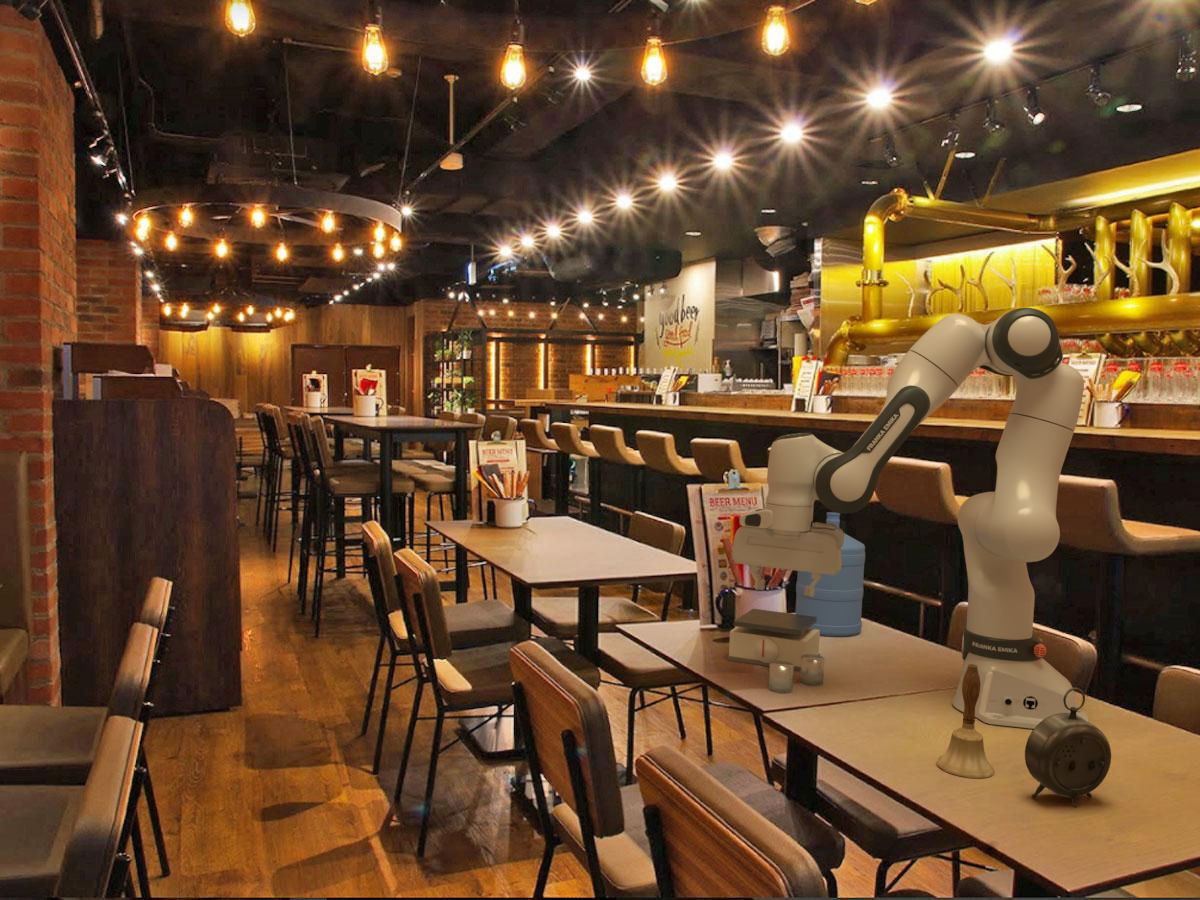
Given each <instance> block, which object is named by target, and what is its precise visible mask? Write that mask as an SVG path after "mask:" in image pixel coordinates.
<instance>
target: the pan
mask: <svg viewBox="0 0 1200 900" xmlns="http://www.w3.org/2000/svg"><path fill="white" fill-rule="evenodd" d="M815 622H817V617H813V616H806V615H798V614H795V613H790V612H789V613H788V612H781V611H775V610H774V611H773V610H766V609H758V608H752V609H750V610H749V611H747V612H746V613H744V614H742V615H741V616H740V617H738V618H736V619H735V620H733V626H734V627H737V626H738V627H745V628H752V629H759V630H766V631H774V632H781V633H788V634H795V635H801V634H803V633H804V632H805V631H806V630H807V629H808V628H810V627H811V626H812V625H813V624H814V623H815Z"/></svg>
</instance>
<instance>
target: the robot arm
mask: <svg viewBox="0 0 1200 900" xmlns="http://www.w3.org/2000/svg"><path fill="white" fill-rule="evenodd" d="M1060 342H1061V340H1060V335H1059V331H1058V327H1057V325H1056V323H1055V322H1054V320H1053V319H1052V317H1051V316H1050V315H1048V314H1047V313H1046V312H1044V311H1042V310H1040V309H1037V308H1033V307H1018V308H1015V309H1012V310H1010V311H1008V312H1007V313H1004V314H1002V315H1001V316H999V317H998V318H997V319H995V320H994V321H992V322H991V323H988V324H987V323H986V324H982V323H979V322H978V321H977V320H974V318H972V317H969V316H968V315H964V314H961V313H951V314H947V315H945V316H943V317H942V318H941V319H940V320H938V321H937V322H936V323H935V324H934V325H932V326H931V327H930V328H929V329H928V330H927V331H926V332H925V333H924V334H922V335H921V336H920V337H919V338H918V340H917V341H915V343H914V344H913V345H912V346H911V347H910V348H909V350H908V351H907V352H906V353H905V354H904V356H903V357H902V359H900V361H899V362H898V364H897V365H896V367H895V368H894V370H893V372H892V374H891V375H890V377H889V379H888V380H887V387H886V397H885V401H884V404H883V407H881V411H880V412H879V414H878V415H877V416H876V417H875V419H874V420H873V421H872V422H871V424H869V426H868V427H867V429H866V430H865V431H864V432H863V434H861V436H860V437H859V438H858V440H857V441H856V442H855V443H854V444H853V446H852V447H851V448H849V449H848V450H846V451H845V452H842V451H840V450H838V449H835V448H834V447H832V446H830V445H828V444H826V443H824V442H823V441H822V440H820V439H818V438H817V437H816V436H815V435H814V434H813V433H811V432H796V433H789V434H784V435H781V436H779V437H777V438H775V440H774V441H773V442H772V444H771V446H770V451H769V456H768V462H767V463H768V464H767V473H766V480H767V485H768V487H767V488H768V491H767V496H766V497H765V506H764V509H762V508H759V509H756V510H753V511H749V512H745V513H742V514H741V515H740V517H739V525H740V527H739V528H738V529H737V530H736V532H735V534H734V538H733V543H732V549H731V550H732V552H731V553H732V554H731V558H732V560H733V561H734V563H735V564H740V565H747V566H748V565H749V572H750V573H751V574H750V575H752V578H753V580H754V590H759V591H763V590H765V588H766V587H765V584H766V580H765V579H762V578H761V575H760V573H759V571H760V570H761V567H763V568H771V569H779V570H787V571H788V570H789V571H794V572H795V571H796V572H798V571H803V572H811V573H812V575H811V578H812V579H814V580H813V582H812V583H811V585H810V586H808V585H807V586H805V592H804V596H809V597H813V596H814V588H815V586H816V585H817V583H818V582H819V580H820V579H821V574H827V575H835V574H837V573H838V572H839V571H840V570H841V567H842V557H841V547H842V546H843V543H844V533H845V532H844V530H843V529H842V528H840V526H839V527H837V525H835V524H826V523H824V522H818V521H813V520H814V504H815V502H816V501H819V502H820V503H821V504H822V505H823V506H824V508H826V509H828V510H829V511H830V512H836V513H840V515H841V514H844V515H845V514H846V515H847V514H854V513H856V512H859V511H860V510H862V509H864V508H865V507H866V506H867V505H868V504H869V502H871V499H873V496H874V494H875V491H876V487H877V483H878V479H879V477H880V474H881V472H882V470H883V469H884V467H886V465H887V463H888V462H889V461H890V460H891V459H892V457H893V456H894V455H895V453H896V452H897V451H898V450H899V449H900V447H901V446H902V445H903V444H904V443H905V441H906V440H907V439H908V437H909V436H910V435H911V434H912V432H913V431H914V430H915V429H916V428H917V427H918V426H919V425H921V424H922V423H923V422H924V421H925V420H926V419H927V418H928V417H930V416H931V415H933V414H934V413H935V412H936V411H937V410H938V409H939V408H941V406H943V405H944V404H945V403H946V402H947V400H949V399H950V397H952V396H953V395H954V393H955V392H956V391H957V390H958V389H959V387H960V386H961V385H962V383H964V381H965V380H966V379H967V378H968V377H969V376H970V375H971V374H972V373H973V372H974V371H975V370H977V369H978V368H980V369H982V370H985V371H988V372H990V373H992V374H995V375H998V376H1002V377H1013V378H1014V381H1015V386H1016V387H1015V388H1016V391H1015V397H1014V400H1013V404H1012V406H1011V409H1010V411H1009V415H1008V418H1007V420H1006V421H1005V422H1006V423H1005V424H1004V425H1005V426H1004V428H1003V431H1002V433H1001V434H1002V435H1001V437H1000V440H999V443H998V446H997V449H996V451H995V452H996V453H995V462H996V466H997V467H996V468H997V470H996V480H995V481H996V482H995V490H994V491H987V492H986V491H985V492H981V493H977V494H974V495H971V496H970V497H968V498H966V499H965V500H964V501H963V503H962V504H961V505H960V507H959V509H958V512H957V525H958V529H959V530H960V533H961V536H962V541H963V542H962V544H963V552H964V559H965V564H966V565H965V566H966V572H967V573H966V574H967V582H968V583H967V585H968V590H967V591H968V594H967V596H968V597H967V609H966V610H967V613H966V615H967V616H966V627H965V628H964V630H963V634H962V643H961V655H962V660H963V661H962V666H961V667H962V668H961V673H960V677H959V681H958V684H957V688H956V691H955V694H954V697H953V700H952V702H951V704H952V706H953V707H954V708H955V709H957V710H958V711H960V712H962V713H964V699H963V694H962V682H963V678H964V675H965V673H966V671H967V668H968V665H969V664H974V665H977V669H978V673H979V677H980V683H981V685H980V694H979V698H978V700H977V703H976V706H975V718H977V719H979V720H980V721H981V722H983V723H986V724H989V725H997V726H1004V727H1005V726H1006V727H1015V728H1024V729H1030V730H1033V729H1034V728H1035V727H1036V726H1037V725H1038V724H1039V723H1040V722H1041V721H1042V720H1044V719H1045V718H1047V717H1049V716H1051V715H1054V714H1058V713H1070V712H1071V711H1070V710H1068V709H1067V708H1066V707H1065V705H1064V701H1063V699H1064V695H1065V693H1066V692H1067V691H1068V690H1069V689H1071V688H1073V686H1072V683H1071V682H1070V681H1069V679H1067V677H1065V676H1064V675H1062V674H1061V672H1059V671H1058V670H1056V668H1054V667H1053V666H1052V665H1051V664H1050V663H1049V662H1047V661H1046V660H1045V659H1044V657H1045V656H1046V653H1047V647H1046V646H1045V643H1044V642H1043V639H1042V638H1038V637H1037V636H1035V635H1033V629H1034V625H1033V624H1034V611H1035V600H1036V599H1035V597H1036V596H1035V595H1036V593H1035V590H1034V587H1033V585H1032V583H1031V580H1030V577H1029V572H1028V567H1027V566H1028V565H1027V563H1033V562H1039V561H1042V560H1045V559H1046V558H1048V557H1050V556H1051V555H1052V554H1053V552H1054V551H1055V550H1056V548H1057V546H1058V545H1059V541H1060V538H1061V537H1060V536H1061V533H1060V532H1061V531H1060V530H1061V529H1060V525H1059V522H1058V520H1057V500H1058V490H1059V482H1060V476H1061V472H1062V469H1063V465H1064V462H1065V460H1066V457H1067V453H1068V450H1069V447H1070V444H1071V442H1072V440H1073V439H1072V438H1073V435H1074V432H1075V430H1076V427H1077V424H1078V421H1079V420H1078V419H1079V416H1080V411H1081V407H1082V402H1083V397H1084V388H1085V381H1084V377H1083V376H1082V374H1081V373H1080V372H1079V370H1077V369H1076V368H1075V367H1074V366H1072V365H1070V364H1067V363H1065V362H1062V361H1063V358H1064V354H1063V351H1062V347H1061V343H1060ZM836 529H838V530H839V531H838V530H836ZM1066 705H1067V707H1068V708H1071V707H1076V708H1078V707H1079V706H1077V701H1076V695H1075V690H1073V691H1071V692H1069V694H1068V695H1067V697H1066ZM1076 715H1078V716H1080V717H1081V718H1083V719H1084V720H1086V721H1087V722H1089V723H1090V721H1089V720H1090V719H1089V715H1088V714H1087V712H1086V711H1085V710H1083V709H1082V708H1080V709H1079V710H1078V711H1077V712H1076Z"/></svg>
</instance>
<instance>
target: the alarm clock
mask: <svg viewBox="0 0 1200 900" xmlns="http://www.w3.org/2000/svg"><path fill="white" fill-rule="evenodd" d="M1073 690H1074V691H1078V692H1079V693H1080V694H1081V696H1082V702H1081V704H1080V706H1076V707H1078V708H1076V707H1071V708H1068V707H1067V705H1066V697H1067V695H1068V694H1069V692H1071V691H1073ZM1063 701H1064V705H1065V707H1066V708H1067V709H1068V710H1070V711H1071V712H1070V713H1058V714H1054V715H1051V716H1049V717H1047V718H1045V719H1044V720H1042V721H1041V722H1040V723H1039V724H1038V725H1037V726H1036V727H1035V728H1034V729H1032V731H1031V733H1030V734H1029V736H1028V738H1027V740H1026V742H1025V743H1026V744H1025V746H1024V747H1025V749H1024V761H1025V762H1024V763H1025V766H1026V768H1027V771H1028V772H1029V774H1030V775H1031V777H1032V778H1033V779H1034V780H1035V781H1037V782H1038V783H1039V785H1038V786H1037V787H1036V790H1035V791H1034V793H1033V794H1031V798H1032V799H1034V800H1035V799H1036V798H1037V797H1038V795H1039V794H1041V792H1042V791H1044V789H1045V788H1046V789H1048V790H1049V791H1050V792H1052V793H1053V794H1055V795H1058V796H1060V797H1063V798H1064V797H1065V798H1071V803H1072V806H1073V807H1074V808H1078V800H1077V798H1078V797H1082V796H1086V797H1087V798H1089V799H1090V798H1091V797H1092V794H1091V792H1093V791H1095V789H1097V788H1098V787H1099V786H1100V785H1101V784H1102V782H1104V780H1105V778H1106V777H1107V775H1108V773H1109V770H1110V768H1111V763H1112V750H1111V746H1110V745H1111V744H1110V743H1109V740H1108V738H1107V736H1106V735H1105V733H1104V732H1103V731H1102V730H1100V729H1099V728H1098V727H1097V726H1096V725H1094V724H1092V723H1090V721H1089V722H1087V721H1086V720H1084V719H1083V718H1081V717H1080V716H1078V715H1076V712H1077V711H1078V710H1079V709H1082V707H1084V705H1085V703H1086V695H1085V693H1084V692H1083V690H1082V689H1080V688H1079V687H1072V688H1071V689H1069V690H1068V691H1067V692H1066V693H1065V695H1064V699H1063Z"/></svg>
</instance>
